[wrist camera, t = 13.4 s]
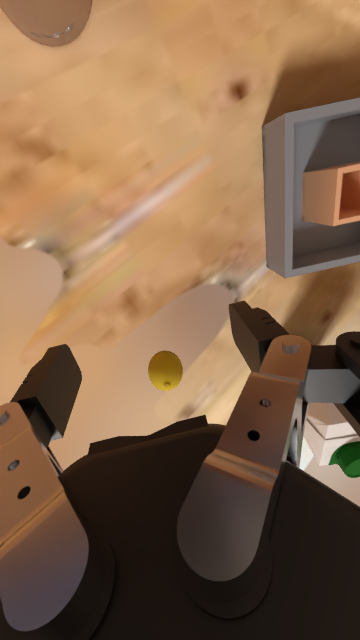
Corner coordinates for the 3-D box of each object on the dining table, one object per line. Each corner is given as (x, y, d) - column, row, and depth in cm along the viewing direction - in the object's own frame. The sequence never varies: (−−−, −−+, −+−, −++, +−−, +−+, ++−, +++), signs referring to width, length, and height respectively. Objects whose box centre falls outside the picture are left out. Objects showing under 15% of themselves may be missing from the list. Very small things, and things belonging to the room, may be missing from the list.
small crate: (303, 172, 34) (337, 168, 28) (346, 163, 34) (391, 156, 28) (301, 220, 37) (333, 226, 30) (342, 211, 37) (382, 215, 31)
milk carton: (261, 382, 51) (323, 485, 33) (264, 343, 46) (336, 437, 29) (304, 375, 51) (388, 473, 33) (310, 336, 47) (410, 424, 29)
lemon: (181, 343, 45) (188, 372, 37) (177, 369, 47) (182, 401, 40) (149, 341, 44) (150, 370, 37) (147, 367, 46) (146, 400, 39)
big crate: (261, 126, 32) (284, 113, 26) (386, 99, 32) (434, 81, 27) (266, 266, 40) (285, 278, 35) (366, 244, 40) (399, 252, 35)
